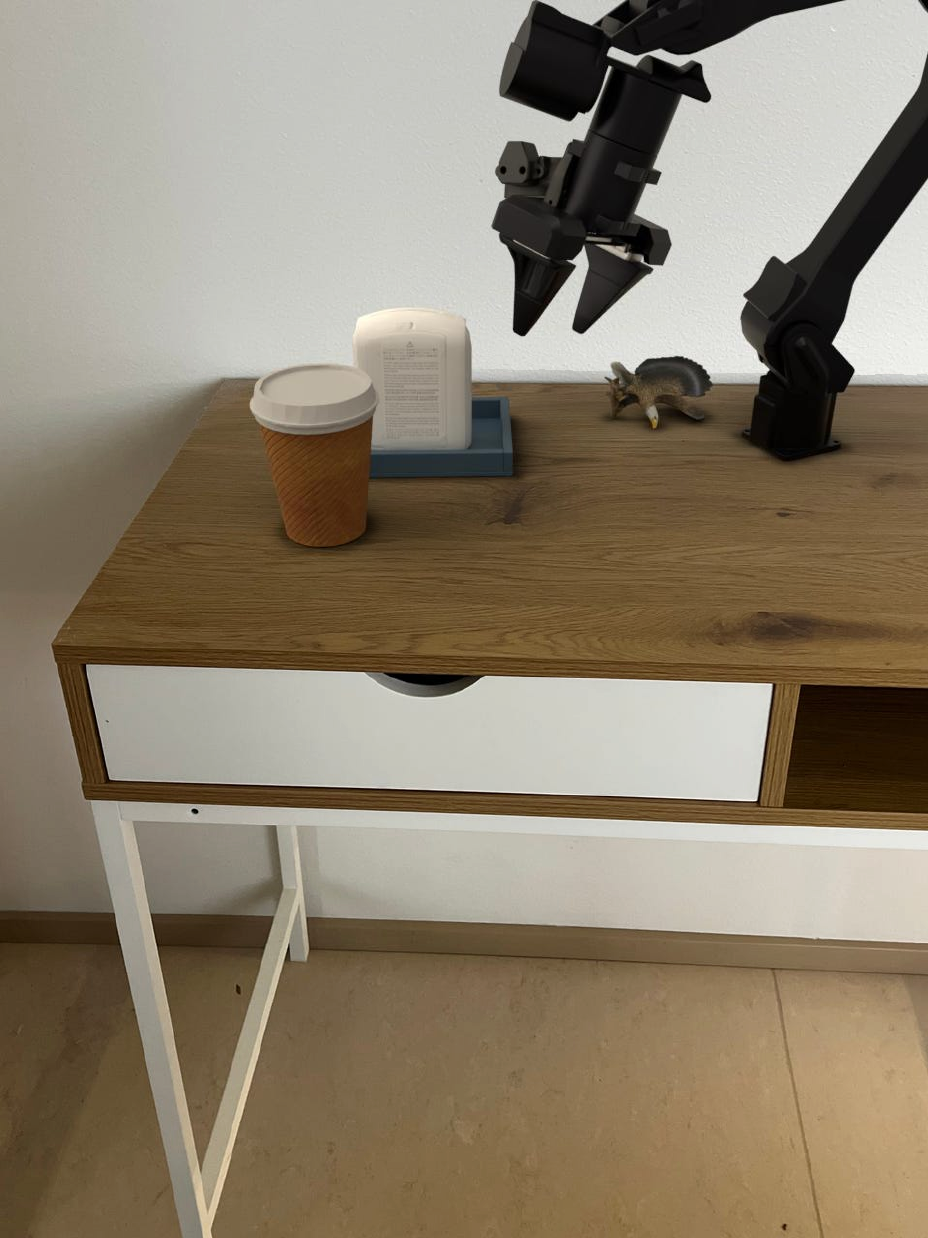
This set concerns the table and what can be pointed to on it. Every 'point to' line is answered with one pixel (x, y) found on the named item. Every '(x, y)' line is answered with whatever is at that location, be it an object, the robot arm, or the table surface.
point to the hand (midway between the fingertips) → (548, 332)
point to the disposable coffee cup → (318, 448)
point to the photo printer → (417, 377)
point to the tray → (480, 459)
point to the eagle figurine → (659, 385)
